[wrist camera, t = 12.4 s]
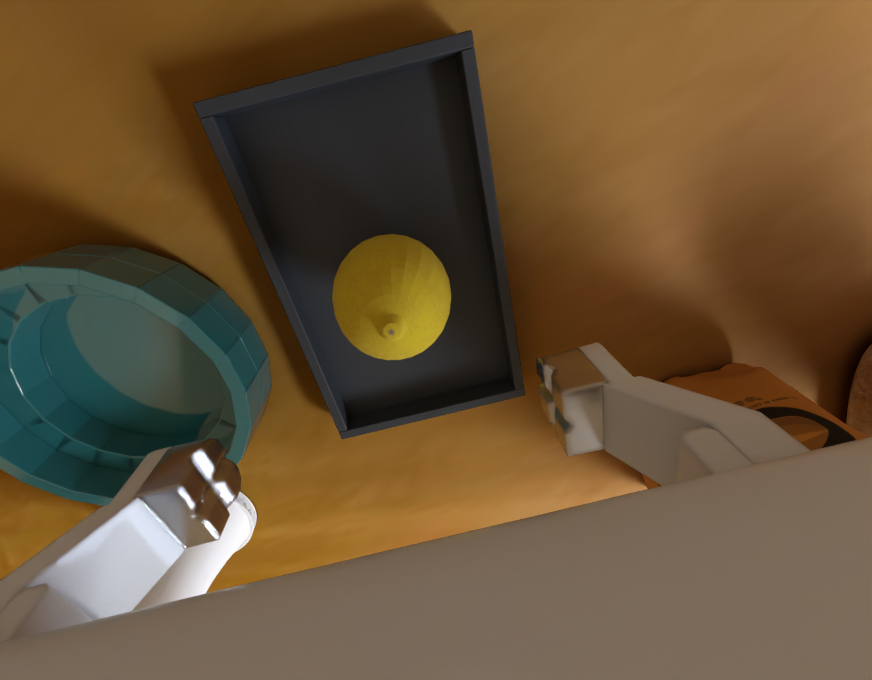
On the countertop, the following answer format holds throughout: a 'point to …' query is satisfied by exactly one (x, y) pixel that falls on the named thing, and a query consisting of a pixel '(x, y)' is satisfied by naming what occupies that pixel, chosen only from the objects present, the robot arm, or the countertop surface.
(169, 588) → the vase
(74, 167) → the countertop surface
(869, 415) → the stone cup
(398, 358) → the lemon
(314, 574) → the robot arm
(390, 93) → the tray
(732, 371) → the coffee package
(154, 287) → the bowl
